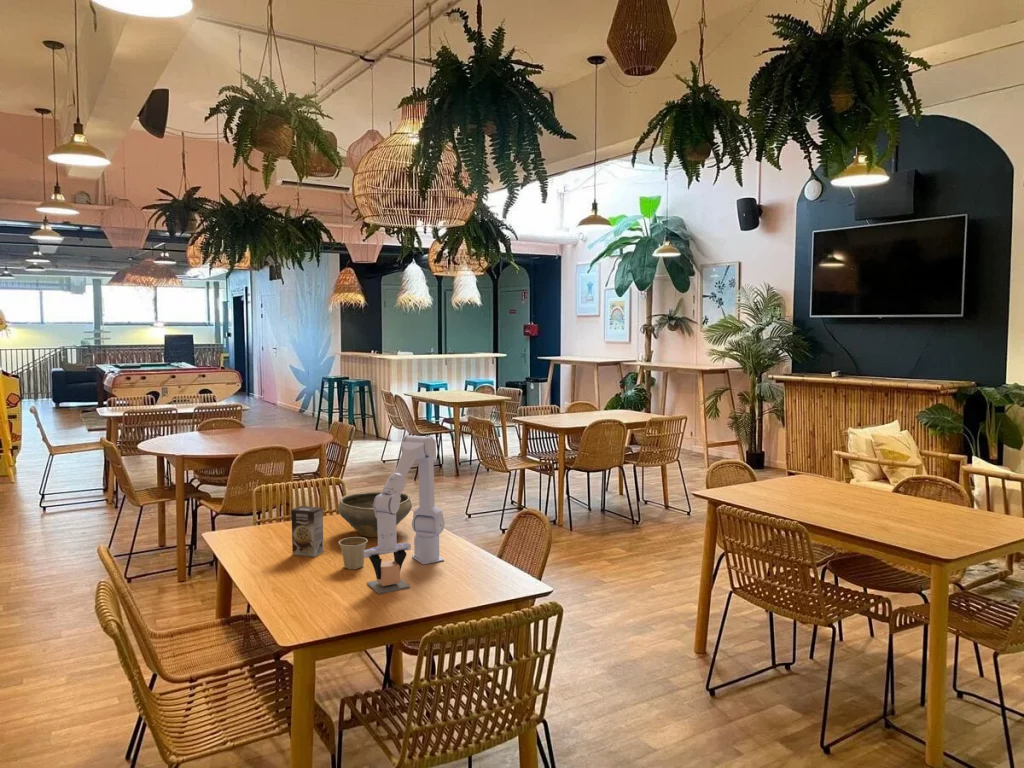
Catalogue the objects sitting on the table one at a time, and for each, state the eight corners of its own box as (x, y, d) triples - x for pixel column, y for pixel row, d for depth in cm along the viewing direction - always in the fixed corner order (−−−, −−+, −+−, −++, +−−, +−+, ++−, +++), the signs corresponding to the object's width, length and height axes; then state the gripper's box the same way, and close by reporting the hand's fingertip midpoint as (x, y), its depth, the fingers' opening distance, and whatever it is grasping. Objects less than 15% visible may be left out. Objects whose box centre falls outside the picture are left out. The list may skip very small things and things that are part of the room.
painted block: (376, 580, 225) (376, 563, 224) (393, 577, 228) (393, 560, 227) (382, 586, 220) (382, 568, 220) (400, 582, 223) (399, 565, 222)
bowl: (325, 533, 281) (324, 497, 280) (386, 520, 300) (385, 486, 299) (363, 548, 261) (362, 509, 260) (426, 533, 279) (425, 496, 278)
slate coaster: (366, 584, 226) (366, 582, 226) (397, 578, 231) (397, 576, 231) (378, 594, 217) (378, 592, 217) (409, 587, 222) (409, 585, 222)
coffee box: (291, 555, 254) (290, 509, 253) (302, 549, 261) (300, 505, 259) (314, 557, 252) (313, 511, 250) (324, 551, 258) (323, 506, 257)
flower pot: (345, 573, 236) (344, 547, 235) (335, 565, 243) (334, 540, 243) (372, 567, 241) (372, 542, 240) (361, 560, 249) (361, 535, 248)
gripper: (368, 540, 215) (369, 584, 217) (414, 532, 223) (415, 575, 224) (360, 534, 221) (361, 577, 223) (405, 527, 229) (406, 569, 230)
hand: (387, 576), depth 224 cm, fingers closed on painted block, 5 cm apart
